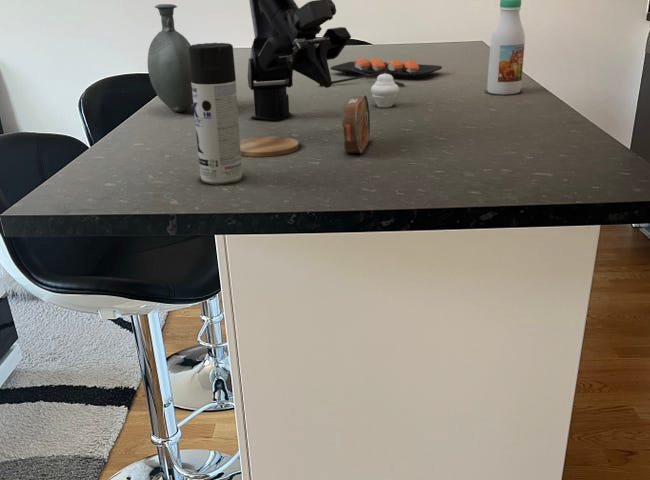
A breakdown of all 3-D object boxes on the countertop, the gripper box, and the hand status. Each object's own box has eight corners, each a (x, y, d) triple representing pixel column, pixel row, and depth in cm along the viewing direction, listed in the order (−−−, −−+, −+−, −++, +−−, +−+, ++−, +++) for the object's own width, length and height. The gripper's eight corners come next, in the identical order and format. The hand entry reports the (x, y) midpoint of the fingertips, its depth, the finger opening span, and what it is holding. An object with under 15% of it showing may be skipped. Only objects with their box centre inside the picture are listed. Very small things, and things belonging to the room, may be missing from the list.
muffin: (374, 109, 168) (375, 75, 165) (367, 104, 173) (367, 71, 170) (402, 107, 169) (402, 74, 166) (394, 102, 174) (394, 69, 171)
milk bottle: (483, 94, 180) (490, 0, 170) (490, 88, 186) (496, -3, 176) (517, 95, 177) (525, -1, 167) (522, 90, 183) (531, -3, 174)
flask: (207, 102, 181) (196, -1, 170) (200, 117, 166) (189, 5, 156) (157, 105, 181) (144, 1, 170) (146, 120, 166) (131, 8, 155)
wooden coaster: (219, 153, 138) (219, 148, 138) (254, 138, 147) (254, 134, 147) (277, 159, 133) (277, 154, 133) (310, 143, 142) (310, 139, 142)
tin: (358, 158, 132) (358, 107, 128) (340, 158, 132) (339, 107, 128) (371, 138, 145) (371, 91, 140) (354, 138, 145) (354, 91, 141)
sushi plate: (445, 73, 208) (446, 58, 206) (394, 91, 186) (394, 75, 184) (353, 67, 222) (352, 53, 220) (294, 84, 200) (293, 68, 198)
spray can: (202, 174, 126) (188, 43, 116) (243, 172, 126) (233, 41, 117) (199, 186, 120) (185, 48, 110) (243, 183, 120) (232, 46, 111)
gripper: (264, -15, 127) (312, 61, 126) (342, -22, 139) (388, 48, 137) (238, 33, 136) (283, 105, 135) (313, 23, 148) (356, 89, 146)
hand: (329, 86), depth 138 cm, fingers closed
